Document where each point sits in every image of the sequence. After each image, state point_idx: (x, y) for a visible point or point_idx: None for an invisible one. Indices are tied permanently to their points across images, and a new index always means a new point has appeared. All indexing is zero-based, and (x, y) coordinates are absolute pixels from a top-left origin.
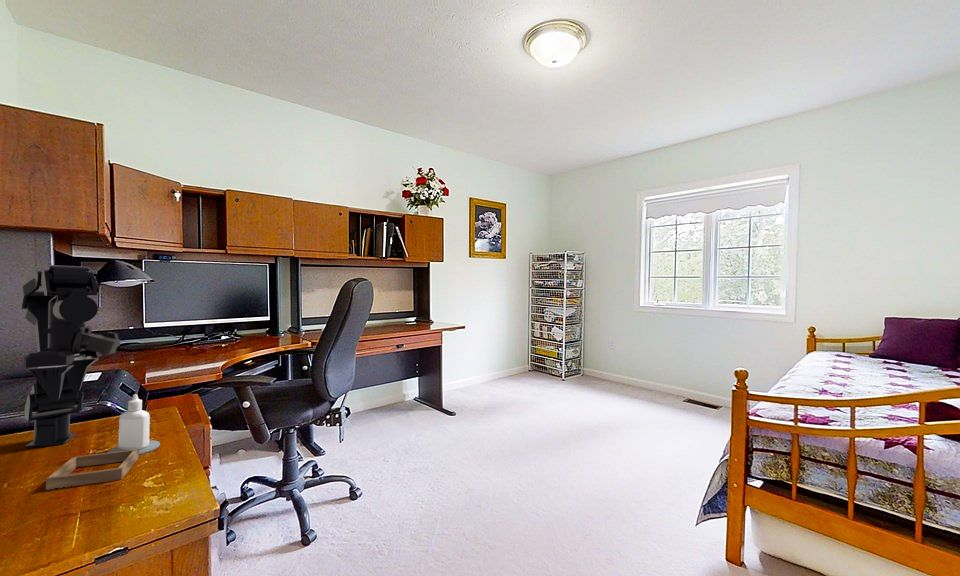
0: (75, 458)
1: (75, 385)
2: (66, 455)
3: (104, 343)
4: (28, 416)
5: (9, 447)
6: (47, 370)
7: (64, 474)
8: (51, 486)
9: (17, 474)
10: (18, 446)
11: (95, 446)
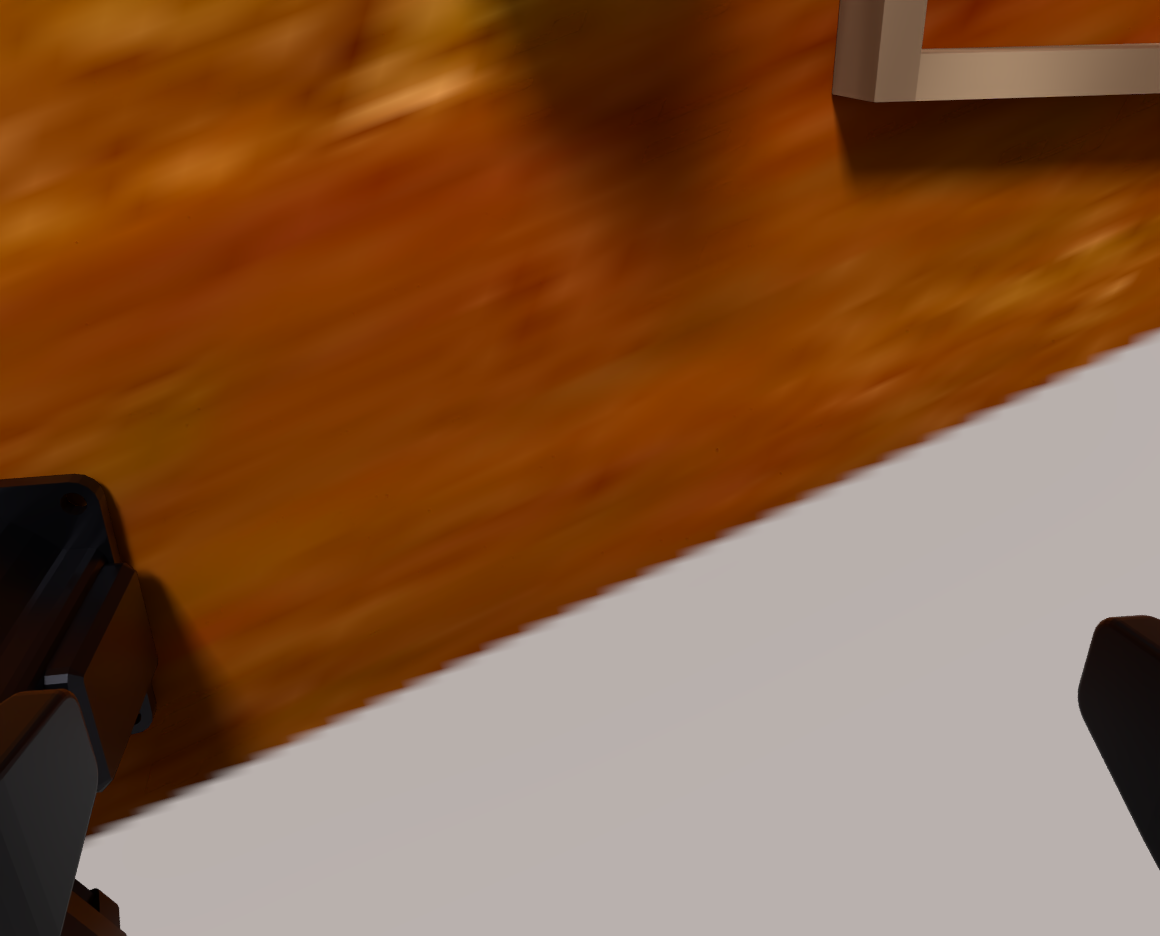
0: (940, 57)
1: (27, 868)
2: (466, 294)
3: None
4: None
5: (89, 834)
6: None
7: (1131, 45)
8: None
9: (814, 451)
10: None
11: (241, 121)
